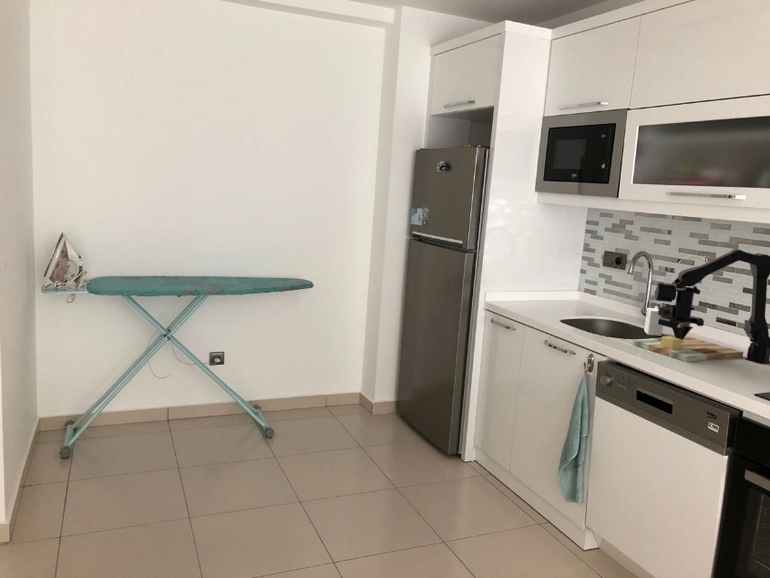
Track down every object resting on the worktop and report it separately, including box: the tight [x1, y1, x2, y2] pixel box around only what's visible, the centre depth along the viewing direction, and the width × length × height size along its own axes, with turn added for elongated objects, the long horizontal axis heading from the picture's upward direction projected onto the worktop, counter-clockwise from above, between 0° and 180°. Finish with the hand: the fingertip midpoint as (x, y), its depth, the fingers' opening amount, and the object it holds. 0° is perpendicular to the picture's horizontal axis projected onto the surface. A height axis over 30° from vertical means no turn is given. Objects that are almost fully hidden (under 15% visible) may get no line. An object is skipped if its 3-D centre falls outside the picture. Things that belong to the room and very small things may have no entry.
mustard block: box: [660, 335, 682, 349], centre depth 236 cm, size 5×5×4 cm
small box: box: [644, 307, 664, 337], centre depth 268 cm, size 8×6×10 cm
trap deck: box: [632, 336, 744, 363], centre depth 241 cm, size 24×32×2 cm
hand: (677, 343), depth 238 cm, fingers closed
